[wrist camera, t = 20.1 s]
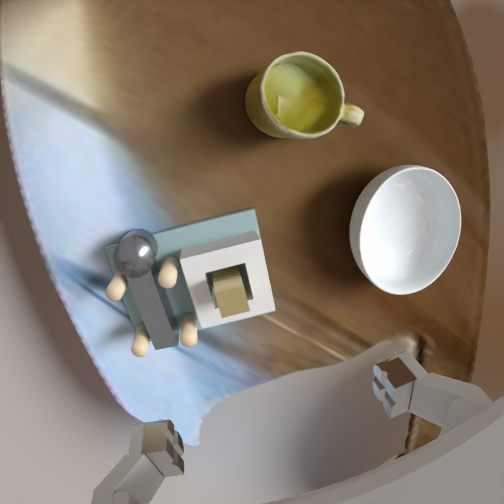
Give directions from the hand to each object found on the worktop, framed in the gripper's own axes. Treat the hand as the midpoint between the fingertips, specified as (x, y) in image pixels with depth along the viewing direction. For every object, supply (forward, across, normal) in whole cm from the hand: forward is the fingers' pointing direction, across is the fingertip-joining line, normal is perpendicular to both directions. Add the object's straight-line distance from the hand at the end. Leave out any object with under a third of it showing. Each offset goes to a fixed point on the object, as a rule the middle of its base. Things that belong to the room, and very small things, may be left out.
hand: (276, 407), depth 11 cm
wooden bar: (+28, +1, +6) cm, 29 cm away
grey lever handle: (+28, +11, +5) cm, 31 cm away
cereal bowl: (+30, -22, +5) cm, 38 cm away
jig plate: (+29, +6, +6) cm, 30 cm away
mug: (+30, -11, -12) cm, 34 cm away
